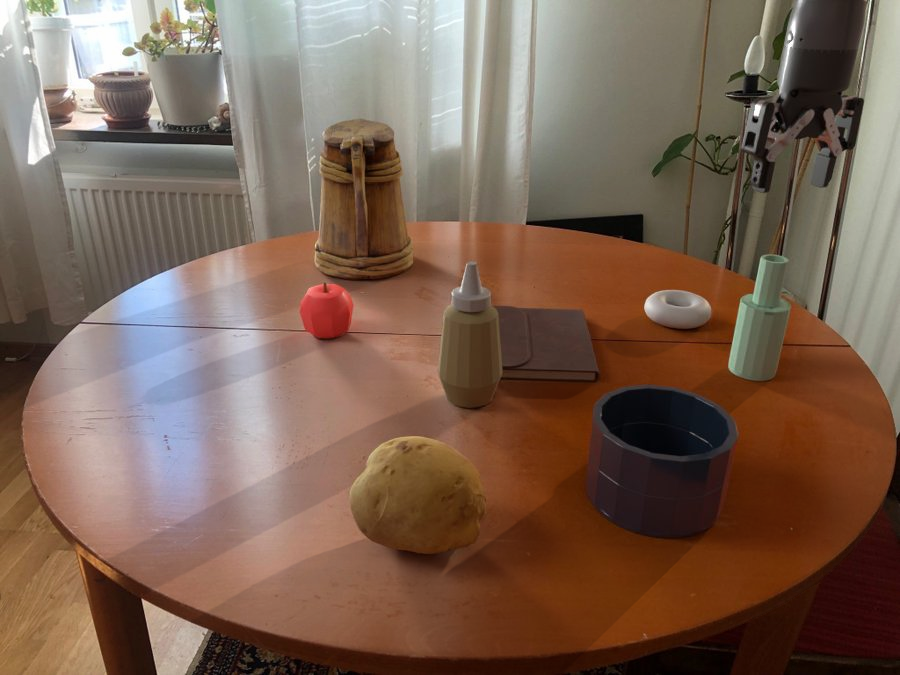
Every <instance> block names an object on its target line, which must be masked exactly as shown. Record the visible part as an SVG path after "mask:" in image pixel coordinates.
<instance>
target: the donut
mask: <svg viewBox="0 0 900 675" xmlns="http://www.w3.org/2000/svg"><path fill="white" fill-rule="evenodd" d="M643 308H644V311H645V314H646V316H647V317H648V318H649V319H650V320H651V321H653V323H656V324H658V325H660V326H663V327H667V328H671V329H677V330H688V329H696V328H698V327H702V326H703V325H705V324H706V323H707V322H709V320H710V319H711V315H712V307H711V304H710V303H709V302H708V300H707V299H705V298H704V297H703V296H701V295H699V294H696V293H693V292H690V291H687V290H679V289H665V290H659V291H656V292H654V293H652V294H651V295H649V296H647V298H646V300H645V302H644V306H643Z"/></svg>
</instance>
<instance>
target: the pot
mask: <svg viewBox="0 0 900 675" xmlns="http://www.w3.org/2000/svg"><path fill="white" fill-rule="evenodd" d="M738 439H739V432H738V428H737V423H736V420H735V419H734V418H733V417H732V415H731V414H729V413H728V412H727V411H726V410H725V409H724V408H723V407H722V406H721V405H719V404H718V403H716V402H714V401H712V400H710V399H708V398H707V397H705V396H703V395H701V394H699V393H695V392H691V391H689V390H685V389H682V388H679V387H674V386H665V385H656V384H637V385H628V386H626V385H625V386H623V387H620V388H616V389H614V390H612V391H611V390H610V391H609V392H606V393H604V394H603V395H602V396H601V397H600V398H599V399H598V400H597V401H596V402H595V403H594V404H593V410H592V420H591V429H590V440H589V449H588V458H587V459H588V460H587V468H586V480H585V491H586V495H587V497H588V500H589V501H590V503H591V505H592V506H593V507H594V509H596V511H597V512H598V513H599V514H600V515H601V516H603V517H604V518H605V519H607V520H608V521H609V522H611V523H612V524H614V525H616V526H618V527H620V528H622V529H624V530H627V531H630V532H632V533H635V534H639V535H642V536H645V537H652V538H660V539H679V538H687V537H692V536H695V535H698V534H701V533H703V532H705V531H707V530H708V529H710V528H711V527H712V526H714V525H715V524H716V523H717V522H718V520H719V519H720V516H721V514H722V511H723V509H724V506H725V502H726V497H727V492H728V487H729V483H730V477H731V473H732V469H733V463H734V459H735V455H736V449H737V446H738V445H737V444H738Z"/></svg>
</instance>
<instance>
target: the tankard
mask: <svg viewBox="0 0 900 675" xmlns="http://www.w3.org/2000/svg"><path fill="white" fill-rule="evenodd" d="M321 138H322V141H323V150H322V152H321V154H320V156H319V163H318V164H319V174H320V175H321V187H320V208H319V209H320V210H319V228H318V239H317V241H316V242H315V244H314V258H313V259H314V265H315V267H316V269H317V270H318V271H320V272H322V273H323V274H325V275H328V276H331V277H335V278H339V279H344V280H345V279H346V280H355V281H357V280H379V279H383V278H389V277H393V276H395V275H396V276H397V275H398V274H401V273H404V272H405V271H407V270H408V269H409V268H410V267H411V266H412V265H413V264H414V254H415V252H414V251H415V250H414V248H413V246H414V245H413V240H412V238H411V237H410V236H409V233H408V226H407V225H408V224H407V219H406V213H405V206H404V200H403V194H402V193H403V192H402V185H401V177H402V176H403V167H402V160H401V155H400V153H399V151H397V150H396V144H395V131H394V130H393V129H392V127H391V126H390V125H388V124H386V123H383V122H379V121H374V120H369V119H364V118H361V117H359V118H354V119H348V120H343V121H339V122H336V123H334V124H332V125H330V126H328V127H327V128H326V129H325V130H324V131H323V132H322V134H321Z"/></svg>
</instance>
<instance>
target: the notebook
mask: <svg viewBox="0 0 900 675" xmlns="http://www.w3.org/2000/svg"><path fill="white" fill-rule="evenodd" d="M492 306H493V307H494V308H495V309H496V310H497V312H498V318H499V331H500V344H501V357H502V371H503V373H502V376H501V378H500V380H524V381H525V380H526V381H527V380H528V381H556V382H557V381H558V382H559V381H560V382H561V381H562V382H593V383H597V382H598V381H599V380H600V377H601V375H600V370H599V366H598V363H597V359H596V354H595V351H594V346H593V342H592V339H591V334H590V331H589V327H588V323H587V319H586V316H585V315H586V314H585V312H584V310H583V309H577V308H576V309H575V308H572V309H571V308H544V307H543V308H541V307H540V308H538V307H517V306H516V307H515V306H512V305H511V306H510V305H492Z"/></svg>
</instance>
